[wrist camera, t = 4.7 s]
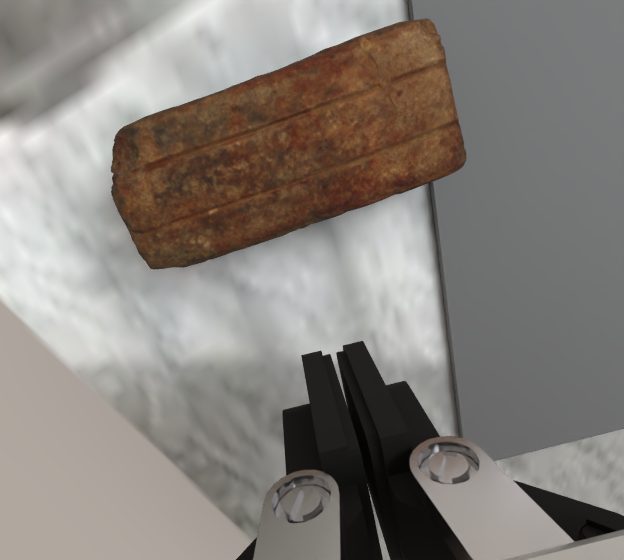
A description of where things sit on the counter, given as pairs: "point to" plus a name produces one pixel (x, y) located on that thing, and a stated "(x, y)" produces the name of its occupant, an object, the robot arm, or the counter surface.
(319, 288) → the counter surface
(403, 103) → the brick
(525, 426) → the mat
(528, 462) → the counter surface
